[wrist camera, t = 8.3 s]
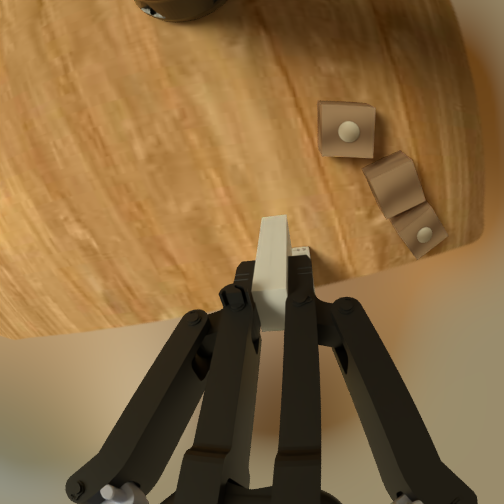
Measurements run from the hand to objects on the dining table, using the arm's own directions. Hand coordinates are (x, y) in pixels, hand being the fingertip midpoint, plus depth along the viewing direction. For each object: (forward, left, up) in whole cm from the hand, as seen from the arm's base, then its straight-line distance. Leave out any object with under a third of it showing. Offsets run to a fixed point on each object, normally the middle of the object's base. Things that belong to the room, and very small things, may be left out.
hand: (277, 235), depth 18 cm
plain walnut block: (+8, +16, -27) cm, 32 cm away
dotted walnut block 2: (+16, +21, -27) cm, 37 cm away
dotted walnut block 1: (-1, +9, -27) cm, 28 cm away
